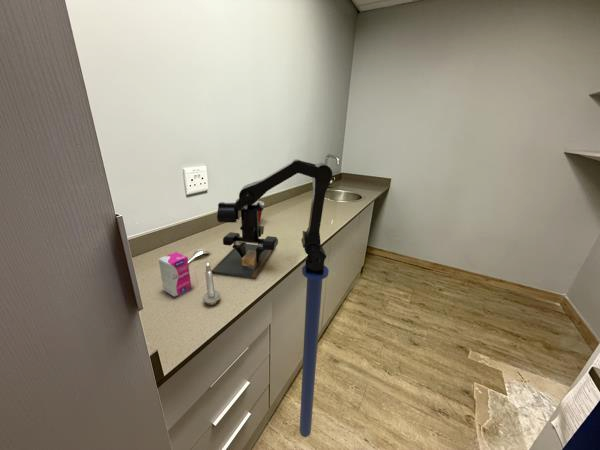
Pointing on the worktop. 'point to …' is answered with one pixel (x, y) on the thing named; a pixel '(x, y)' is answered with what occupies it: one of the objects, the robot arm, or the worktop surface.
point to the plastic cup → (258, 211)
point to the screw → (210, 288)
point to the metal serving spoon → (198, 253)
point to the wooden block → (250, 260)
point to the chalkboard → (240, 264)
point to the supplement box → (175, 274)
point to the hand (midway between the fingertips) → (251, 262)
